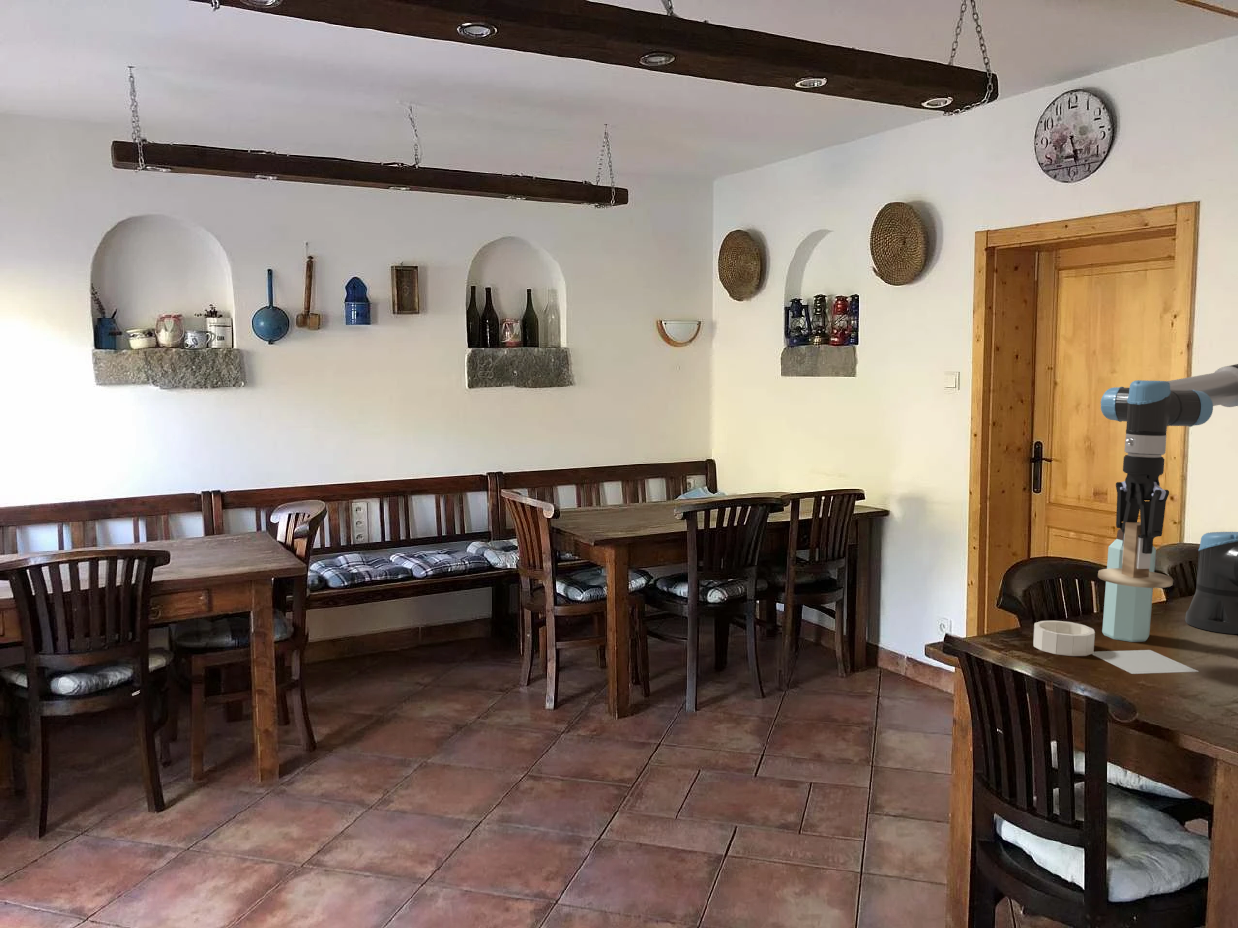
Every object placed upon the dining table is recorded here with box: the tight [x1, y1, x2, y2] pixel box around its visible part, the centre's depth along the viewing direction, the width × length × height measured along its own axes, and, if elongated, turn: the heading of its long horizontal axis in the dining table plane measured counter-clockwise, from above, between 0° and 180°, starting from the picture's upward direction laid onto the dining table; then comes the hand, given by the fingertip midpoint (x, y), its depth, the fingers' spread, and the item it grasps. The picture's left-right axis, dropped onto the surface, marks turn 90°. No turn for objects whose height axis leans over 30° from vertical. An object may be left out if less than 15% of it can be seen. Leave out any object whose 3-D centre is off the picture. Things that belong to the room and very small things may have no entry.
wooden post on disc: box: [1097, 521, 1174, 589], centre depth 210 cm, size 14×14×12 cm
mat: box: [1091, 649, 1200, 675], centre depth 211 cm, size 15×15×1 cm
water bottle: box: [1101, 528, 1157, 643], centre depth 229 cm, size 10×10×25 cm
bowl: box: [1033, 620, 1096, 657], centre depth 220 cm, size 12×12×5 cm
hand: (1135, 565), depth 210 cm, fingers closed on wooden post on disc, 4 cm apart
